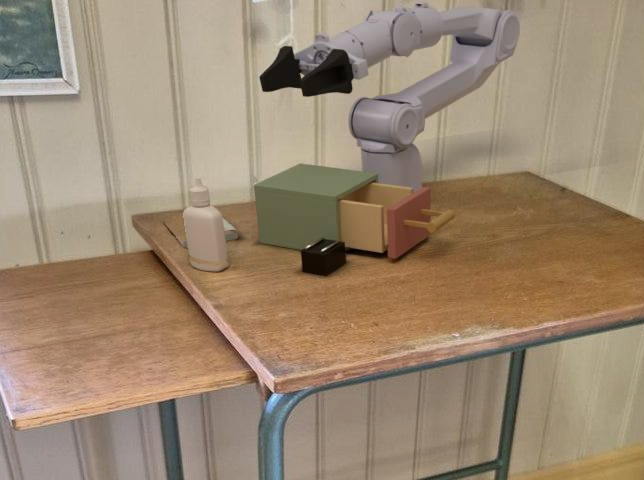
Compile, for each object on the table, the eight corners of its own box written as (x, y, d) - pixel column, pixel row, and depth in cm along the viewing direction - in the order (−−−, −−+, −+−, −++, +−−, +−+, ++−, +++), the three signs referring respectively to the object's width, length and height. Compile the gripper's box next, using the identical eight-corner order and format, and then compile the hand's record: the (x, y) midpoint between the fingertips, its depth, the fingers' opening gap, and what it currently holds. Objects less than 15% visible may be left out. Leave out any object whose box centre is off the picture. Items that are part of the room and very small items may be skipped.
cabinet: (379, 230, 135) (378, 173, 130) (338, 256, 126) (335, 196, 122) (304, 218, 140) (299, 163, 136) (259, 243, 132) (253, 184, 127)
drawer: (461, 239, 128) (462, 191, 125) (428, 264, 121) (428, 214, 117) (356, 222, 136) (354, 177, 132) (318, 245, 128) (314, 198, 124)
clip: (322, 259, 126) (321, 235, 124) (346, 263, 124) (344, 239, 122) (302, 271, 122) (300, 247, 120) (326, 276, 121) (324, 251, 119)
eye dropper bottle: (217, 257, 128) (206, 170, 121) (231, 269, 123) (220, 180, 117) (187, 263, 126) (174, 175, 119) (201, 276, 122) (188, 186, 115)
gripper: (306, 21, 129) (238, 51, 122) (384, 25, 121) (315, 58, 114) (316, 72, 134) (250, 105, 127) (391, 79, 126) (326, 114, 118)
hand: (282, 86), depth 121 cm, fingers open, 7 cm apart
